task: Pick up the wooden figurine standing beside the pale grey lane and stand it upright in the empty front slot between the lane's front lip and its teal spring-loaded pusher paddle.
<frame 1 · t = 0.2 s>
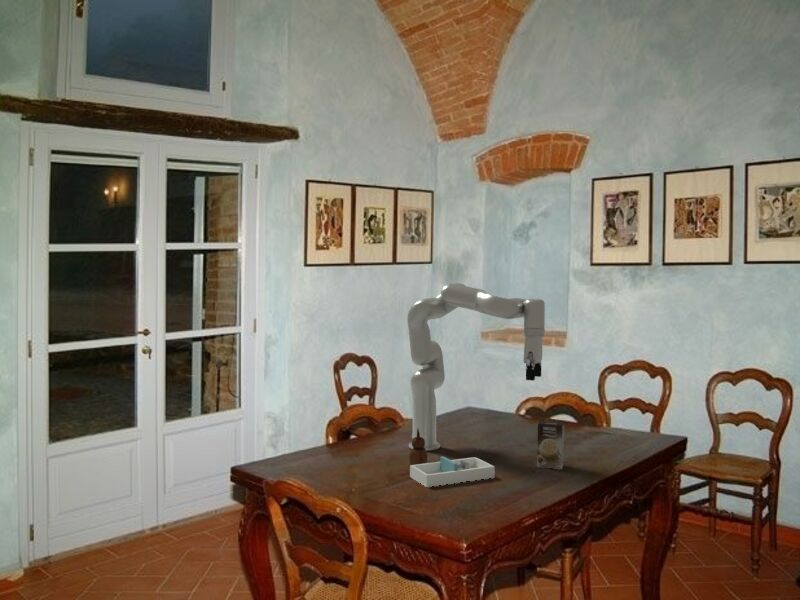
hand: (533, 378, 261), 31 cm above the table, tool pointing down, fingers open, 9 cm apart
coffee box: (550, 466, 255), on the table
lane: (452, 477, 242), on the table
wooden figurine: (418, 469, 253), on the table
pusher paddle: (456, 465, 242), point 4 cm above the table, slide at 0.0 cm
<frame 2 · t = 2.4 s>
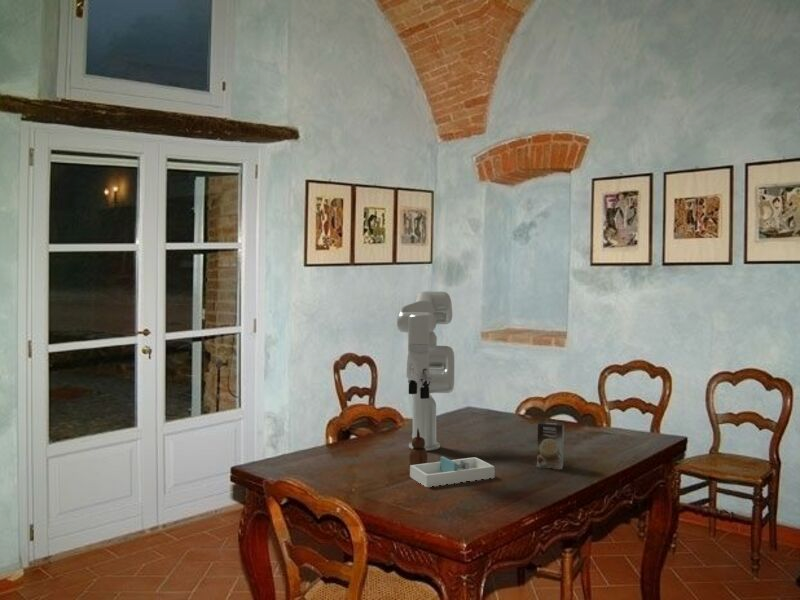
hand: (418, 396, 251), 26 cm above the table, tool pointing down, fingers open, 9 cm apart
nothing on the table moved.
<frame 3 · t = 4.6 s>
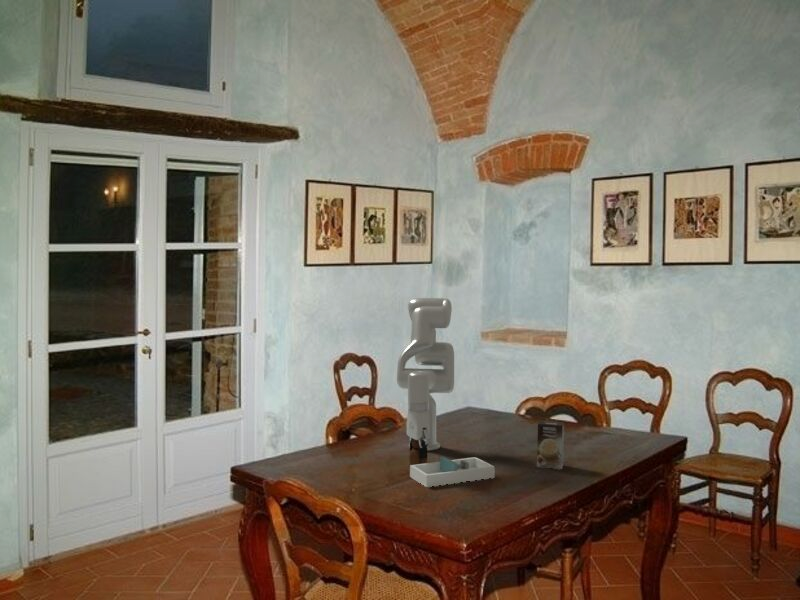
hand: (418, 455, 252), 5 cm above the table, tool pointing down, fingers closed on wooden figurine, 6 cm apart
wooden figurine: (418, 469, 253), on the table, touching gripper
everything else where it was.
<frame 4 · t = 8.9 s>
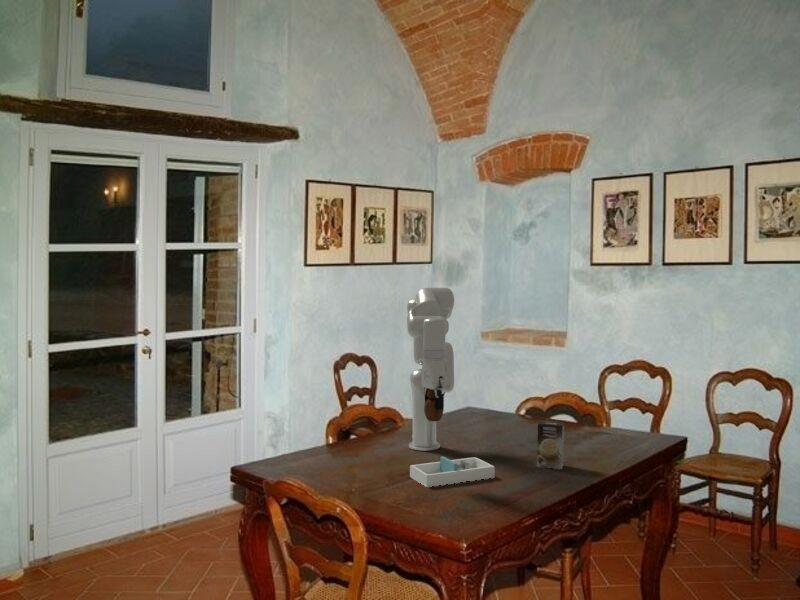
hand: (434, 406, 238), 25 cm above the table, tool pointing down, fingers closed on wooden figurine, 6 cm apart
wooden figurine: (434, 421, 238), point 20 cm above the table, touching gripper
everything else where it was.
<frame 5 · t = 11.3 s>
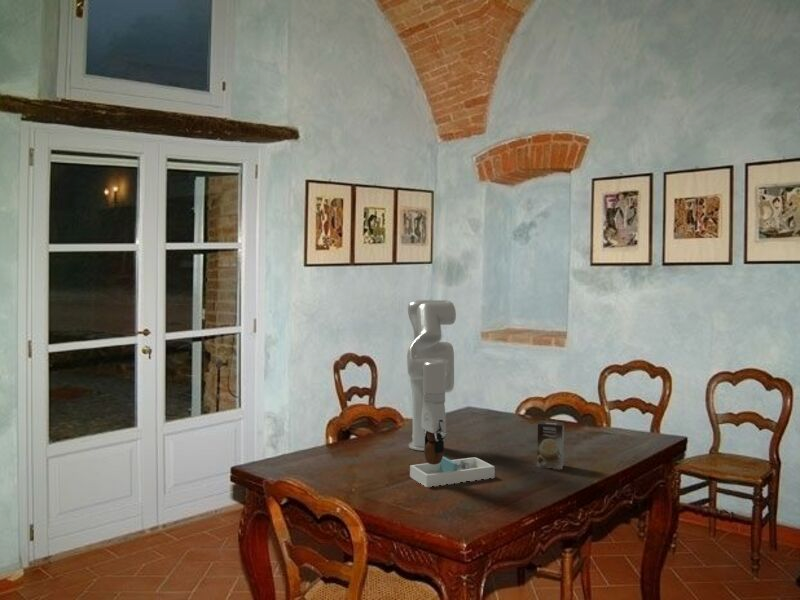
hand: (434, 449, 238), 10 cm above the table, tool pointing down, fingers closed on wooden figurine, 6 cm apart
wooden figurine: (433, 463, 239), point 6 cm above the table, touching gripper
everything else where it was.
when the fingers open (7 cm above the table, at t = 13.2 s): wooden figurine stays where it is, resting on lane.
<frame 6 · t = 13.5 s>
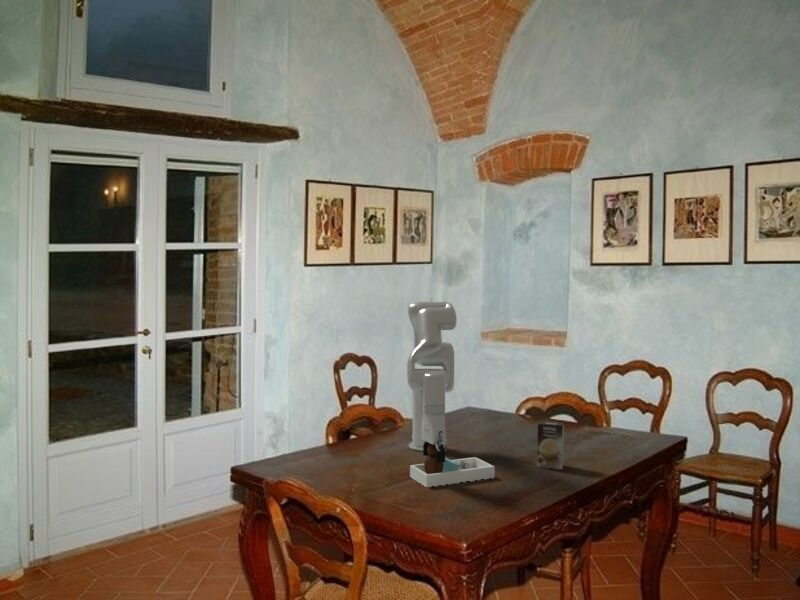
hand: (434, 458, 239), 7 cm above the table, tool pointing down, fingers open, 9 cm apart
wooden figurine: (433, 477, 239), point 1 cm above the table, touching lane
everything else where it was.
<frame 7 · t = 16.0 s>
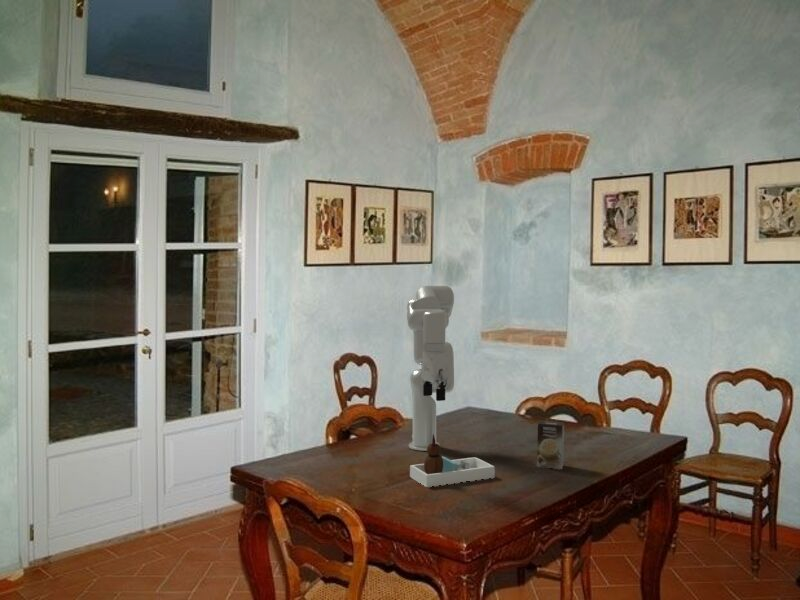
hand: (434, 397, 238), 28 cm above the table, tool pointing down, fingers open, 9 cm apart
nothing on the table moved.
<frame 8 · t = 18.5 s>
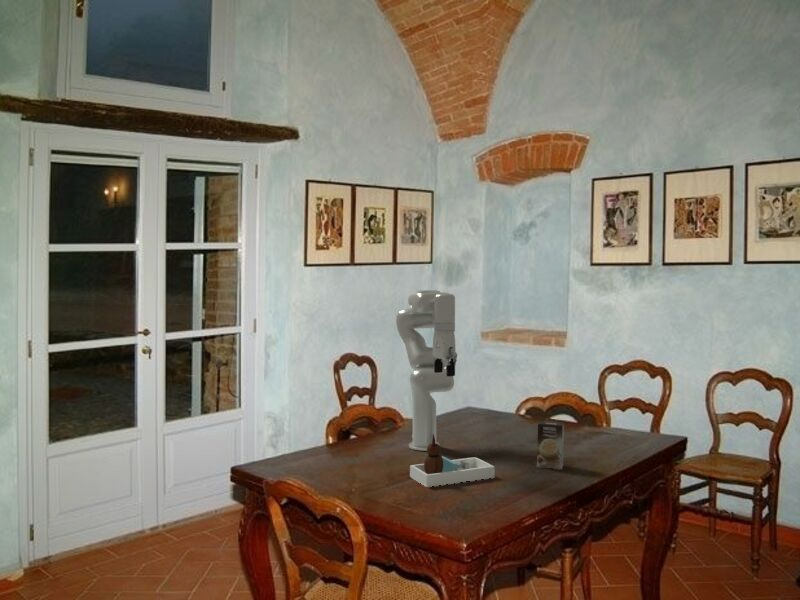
hand: (444, 374, 256), 33 cm above the table, tool pointing down, fingers open, 9 cm apart
nothing on the table moved.
at the end: wooden figurine 0.2 cm from the target spot on the lane, point 0.8 cm above the lane's base; wooden figurine tilted 0°; pusher paddle slide at 0.0 cm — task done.
